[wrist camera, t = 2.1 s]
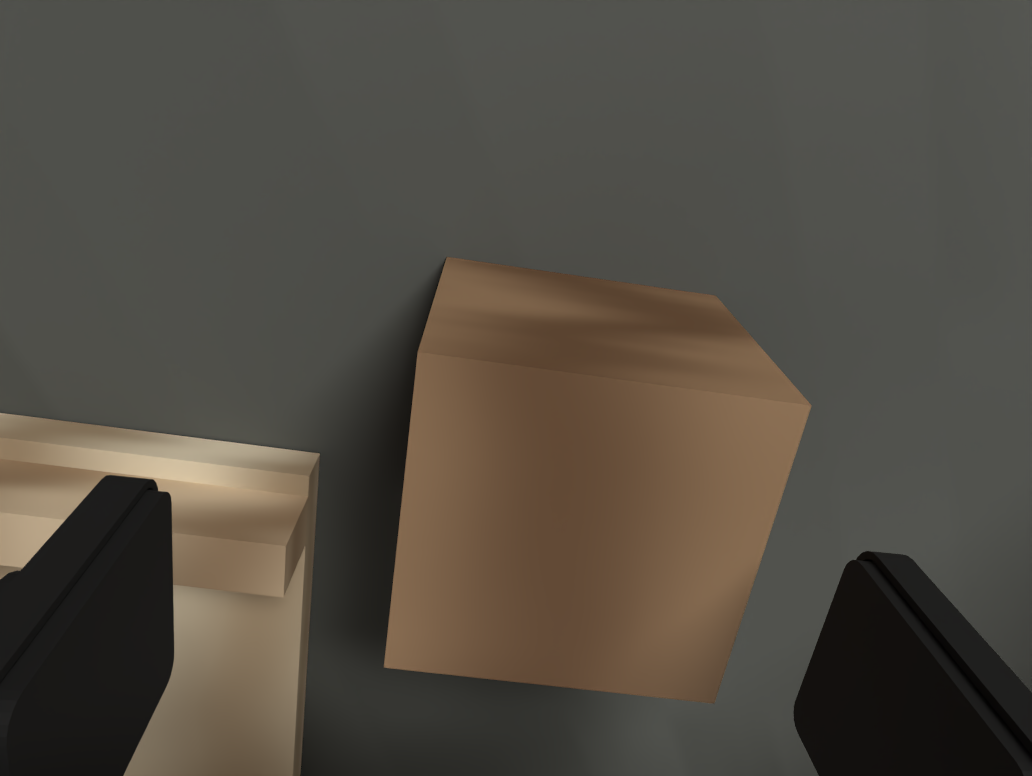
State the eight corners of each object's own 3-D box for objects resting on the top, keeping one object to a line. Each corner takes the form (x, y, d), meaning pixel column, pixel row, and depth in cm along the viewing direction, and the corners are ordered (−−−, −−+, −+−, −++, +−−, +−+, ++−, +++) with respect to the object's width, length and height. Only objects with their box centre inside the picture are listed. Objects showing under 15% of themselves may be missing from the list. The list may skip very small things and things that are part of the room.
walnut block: (714, 294, 16) (811, 405, 11) (656, 521, 18) (714, 703, 13) (447, 255, 16) (417, 351, 10) (419, 492, 18) (383, 667, 13)
